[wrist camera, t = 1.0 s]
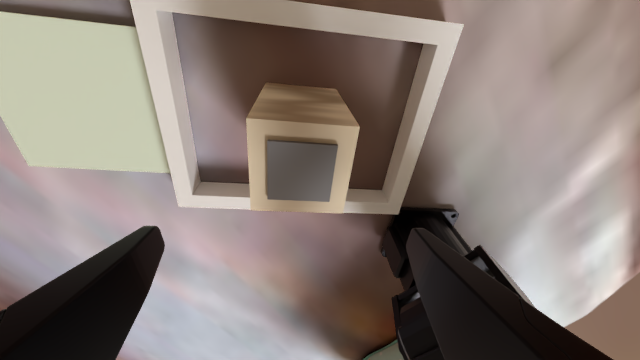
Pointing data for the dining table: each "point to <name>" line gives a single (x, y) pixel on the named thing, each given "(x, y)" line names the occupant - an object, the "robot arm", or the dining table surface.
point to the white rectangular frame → (275, 8)
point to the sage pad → (78, 95)
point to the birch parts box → (300, 149)
